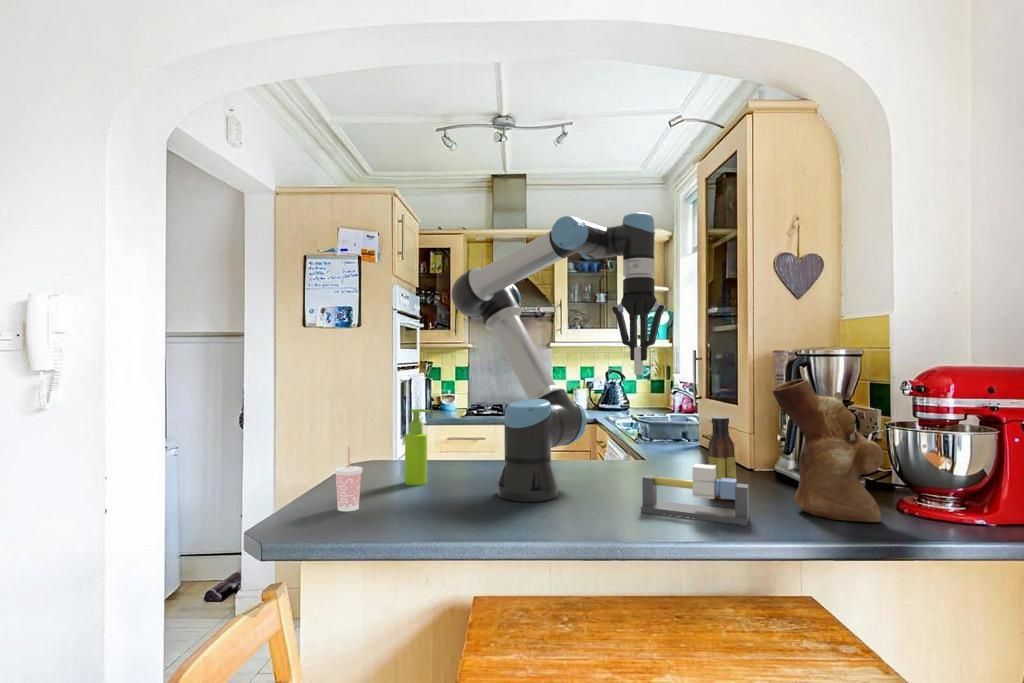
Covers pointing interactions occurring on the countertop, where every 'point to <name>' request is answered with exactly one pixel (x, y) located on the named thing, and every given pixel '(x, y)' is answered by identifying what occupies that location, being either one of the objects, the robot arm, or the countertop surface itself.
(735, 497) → the twin post rod stand
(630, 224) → the robot arm
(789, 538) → the countertop surface
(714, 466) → the sleeve
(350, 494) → the beverage cup
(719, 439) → the sauce bottle
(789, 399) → the ceramic vessel
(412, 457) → the soap dispenser
